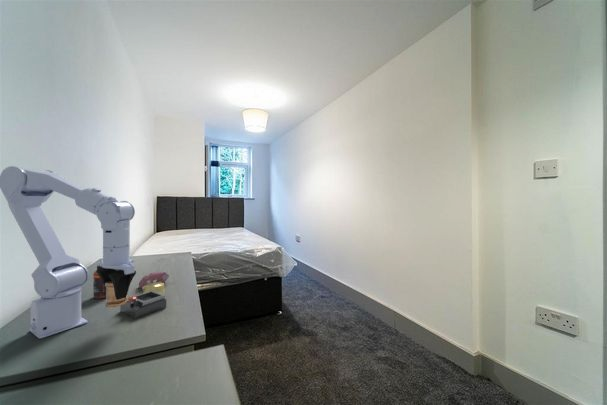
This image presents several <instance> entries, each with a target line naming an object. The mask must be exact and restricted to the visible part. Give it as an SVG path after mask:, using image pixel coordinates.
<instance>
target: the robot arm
mask: <svg viewBox="0 0 607 405" xmlns="http://www.w3.org/2000/svg"><path fill="white" fill-rule="evenodd" d="M0 190H1V192H2V194H3V196H4V198H5V200H6V201H7V204H8V207H9V210H10V212H11V213H12V214H11V215H13V217H14V219H15V221H16V223H17V225H18V227H19V228H20V231H21V233H22V234H23V236H24V238H25V239H26V242H27V243H28V245H29V248H30V249H31V251H32V253H33V254H34V257H35V258H36V260H37V263H38V264H39V265H38V266H37V267H36V269H35V270H34V271H33V272H32V273H31V275H30V276H31V277H32V280H33V282H34V283H33V286H34V290H35V293H36V294H37V295H38V296H40V298H37V299H34V300H32V301H31V303H30V329H29V332H31V333H32V334H33V335H34V336H35V337H37V338H38V339H39V340H40V339H44V338H47V337H49V336H52V335H56V334H58V333H62V332H64V331H67V330H70V329H74V328H75V327H79V326H82V325H85V324H87V323H88V319H85V318H84V317H82V290H83V289H84V288H85V284H87V282H88V281H89V278H90V272H89V269H88V268H87V267H86V266H85V265H83V264H82V263H81V262H80V259H78V258H76V257H74V256H71V255H69V254H67V252H66V251H65V249H64V246H63V245H62V244H61V242H60V241H61V240H59V237H58V236H57V234H56V233H55V231H54V229H53V227H52V224H51V223H50V221H49V219H48V217H47V215H46V214H45V212H44V210H43V207H42V204H43V203H45V202H47V201H48V200H49V199H50V197H52V195H53V193H54V192H55V193H58V194H60V195H63V196H65V197H67V198H69V199H72V200H74V203H75V205H76V206H77V207H78V208H80V209H83V210H85V211H86V212H89V213H91V214H93V215H95V216H96V218H97V219H98V221H99V222H100V228H101V229H102V259H99V264H100V266H101V267H103V269H102V270H98V271H97V273H98V275H99V276H100V278H101V279H102V282H103V284H104V288H105V291H106V286H105V283H106V282H107V281H110V280H112V283H113V286H114V291H115V297H116V299H117V300H119V299H122V298H126V296H127V297H128V293H129V290H130V289H129V288H130V285H131V282H132V281H133V279H134V278H135V276H136V274H137V271H136V269H135V264H133V263H135V259H133V258H131V257H130V256H131V255H130V254H131V253H130V243H131V240H130V239H131V238H130V236H131V234H130V228H131V224H130V223H131V220H132V219H134V217H135V214H136V211H135V207H134V205H133V204H132V203H130V202H129V201H127V200H121V201H118V200H117V197H115V196H109V195H107V194H106V193H103V192H101V191H102V189H100V188H98V187H90V188H89V187H88V188H82V187H81V186H79V185H78V184H76V183H74V182H72V181H70V180H69V179H66V178H65V177H63V176H62V174H60V173H57V172H55V171H52V170H50V169H46V170H44V169H43V170H42V169H35V168H26V167H25V168H24V167H18V166H13V165H11V166H8V167H5V168H4V169H3V170H2V171H1V173H0Z"/></svg>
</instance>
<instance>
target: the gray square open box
mask: <svg viewBox="0 0 607 405" xmlns="http://www.w3.org/2000/svg"><path fill="white" fill-rule="evenodd" d="M127 298H128V302H127V303H126V304H123V305H120V306H119V308H120V312H121V313H122V314H125V315H127V316H129V317H132V318H134V320H135V319H139V318H142V317H144V316H146V315H149V314H153V313H154V312H157V311H160V310H163V309H165V308H167V298H166V295H165V294H164V295H163V294H160V293H157V292H154V291H150V292H146V293H141V294H136V295H134V296H130V297H129V296H128V297H127Z"/></svg>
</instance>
